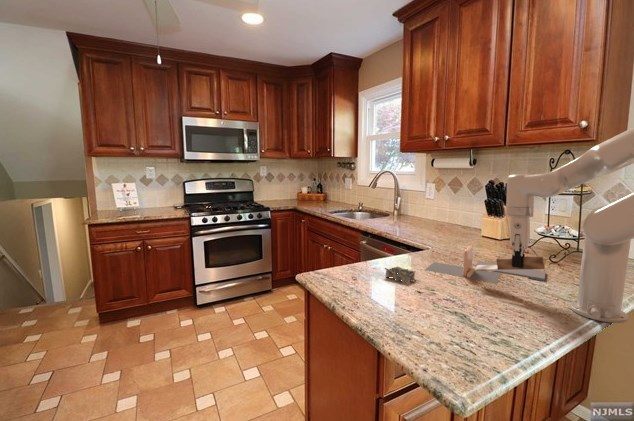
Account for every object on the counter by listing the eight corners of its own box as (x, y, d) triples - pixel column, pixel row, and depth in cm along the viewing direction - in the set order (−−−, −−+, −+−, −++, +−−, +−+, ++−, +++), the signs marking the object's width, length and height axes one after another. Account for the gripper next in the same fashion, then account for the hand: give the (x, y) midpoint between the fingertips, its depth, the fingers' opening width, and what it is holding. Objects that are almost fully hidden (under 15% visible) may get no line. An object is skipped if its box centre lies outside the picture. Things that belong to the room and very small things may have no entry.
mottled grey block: (382, 277, 122) (383, 267, 121) (394, 273, 127) (394, 263, 126) (406, 284, 114) (406, 274, 113) (417, 280, 119) (417, 269, 118)
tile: (466, 276, 120) (467, 251, 118) (462, 275, 120) (464, 251, 119) (471, 269, 128) (473, 246, 126) (468, 269, 128) (469, 245, 127)
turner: (544, 265, 101) (543, 255, 101) (544, 270, 97) (542, 259, 97) (478, 266, 114) (476, 257, 114) (474, 271, 109) (473, 261, 109)
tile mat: (495, 284, 112) (496, 280, 112) (424, 270, 128) (424, 266, 128) (500, 274, 123) (501, 270, 122) (434, 263, 138) (434, 259, 138)
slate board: (544, 281, 115) (544, 278, 115) (474, 269, 130) (474, 266, 130) (545, 273, 123) (545, 271, 123) (478, 263, 138) (478, 260, 137)
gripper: (531, 215, 93) (530, 274, 95) (534, 209, 105) (533, 261, 107) (503, 214, 97) (501, 270, 99) (509, 208, 110) (507, 259, 112)
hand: (518, 265), depth 103 cm, fingers closed on turner, 2 cm apart
